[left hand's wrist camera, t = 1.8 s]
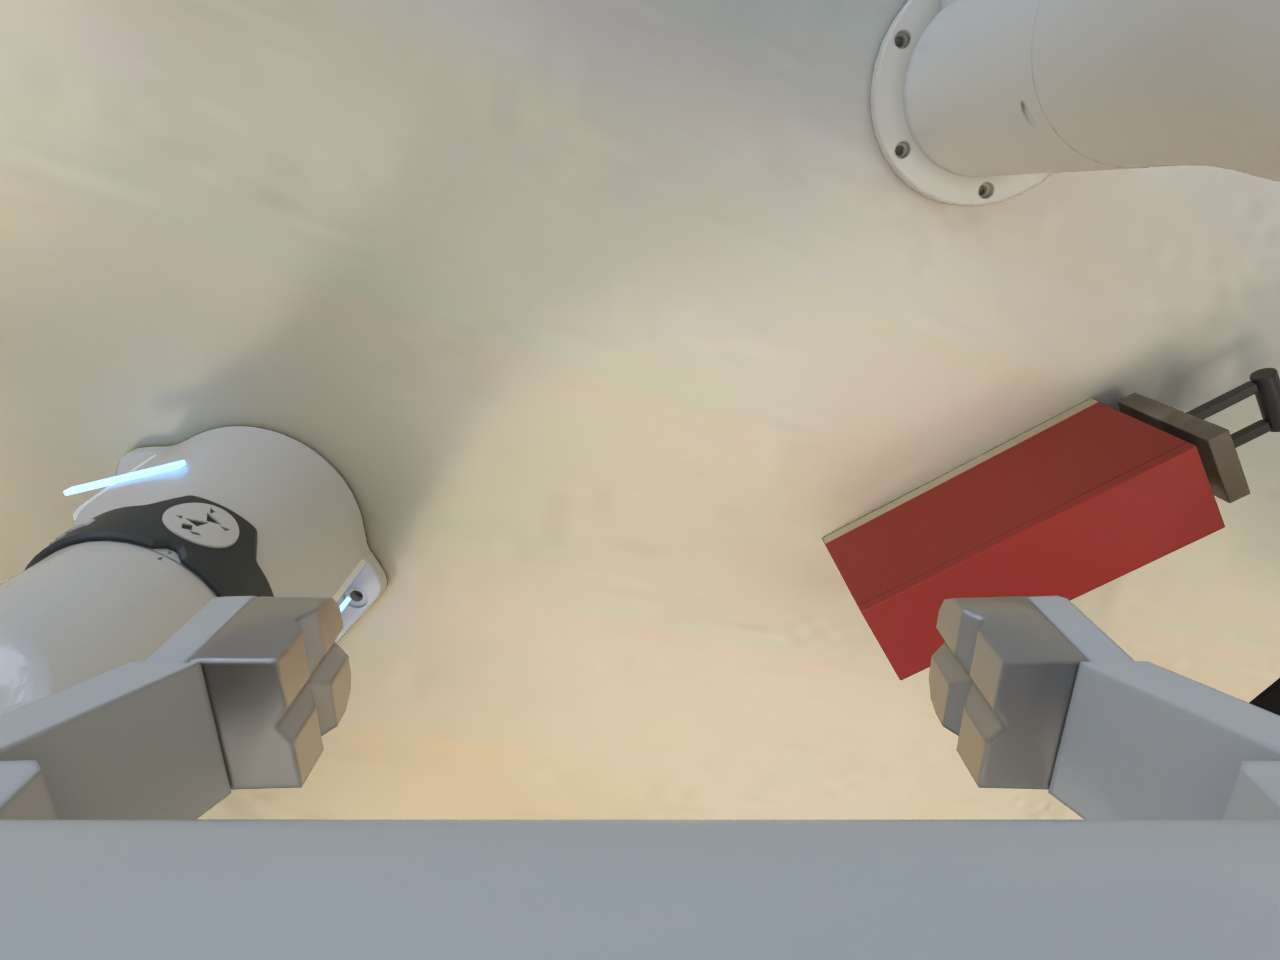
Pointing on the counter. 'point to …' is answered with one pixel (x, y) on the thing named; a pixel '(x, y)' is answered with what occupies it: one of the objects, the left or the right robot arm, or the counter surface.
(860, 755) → the counter surface
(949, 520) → the cabinet
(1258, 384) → the drawer
